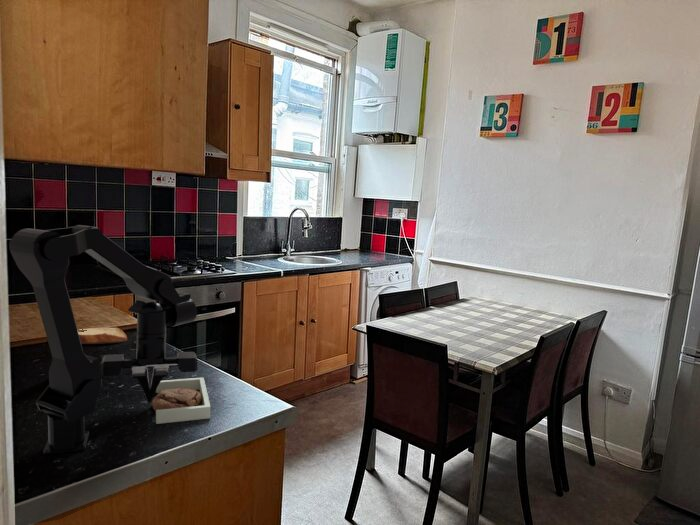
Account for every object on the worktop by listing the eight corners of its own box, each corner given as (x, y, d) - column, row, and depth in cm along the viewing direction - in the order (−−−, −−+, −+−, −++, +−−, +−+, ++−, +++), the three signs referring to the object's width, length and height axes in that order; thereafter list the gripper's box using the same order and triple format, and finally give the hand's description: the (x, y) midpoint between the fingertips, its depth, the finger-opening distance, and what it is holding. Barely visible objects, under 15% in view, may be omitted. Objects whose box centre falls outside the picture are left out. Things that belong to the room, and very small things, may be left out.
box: (210, 418, 104) (210, 406, 104) (156, 423, 100) (156, 412, 100) (203, 387, 120) (203, 377, 119) (156, 391, 116) (156, 381, 116)
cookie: (211, 404, 111) (211, 391, 110) (168, 420, 102) (168, 406, 102) (184, 392, 117) (184, 379, 116) (141, 406, 108) (141, 392, 108)
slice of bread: (43, 340, 149) (42, 328, 148) (102, 329, 163) (102, 318, 163) (72, 354, 139) (72, 341, 138) (133, 341, 153) (133, 329, 152)
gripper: (195, 320, 116) (192, 385, 118) (106, 322, 109) (104, 390, 111) (198, 333, 106) (196, 404, 108) (100, 336, 99) (99, 411, 101)
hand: (149, 401), depth 107 cm, fingers closed
